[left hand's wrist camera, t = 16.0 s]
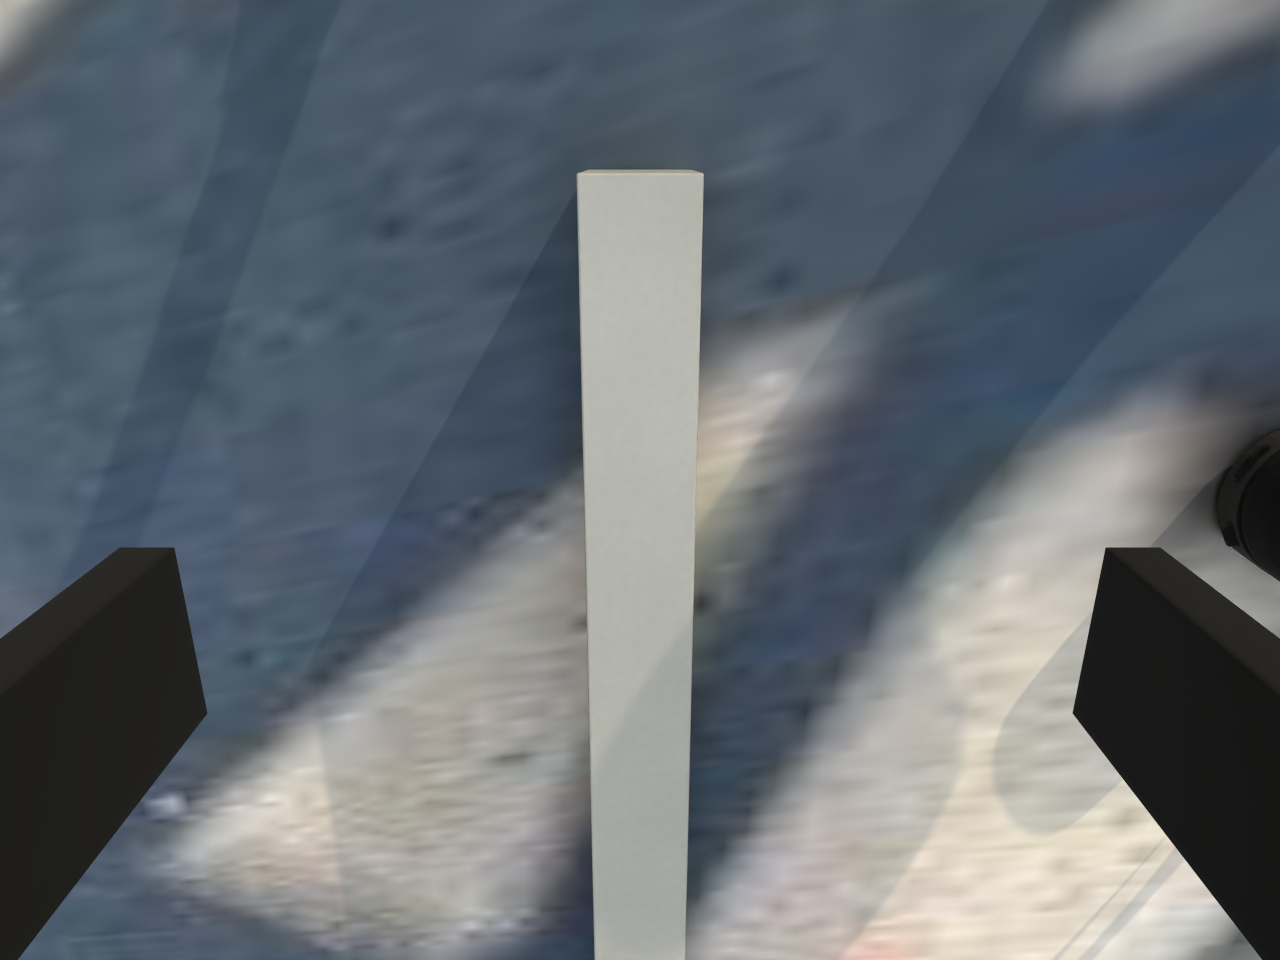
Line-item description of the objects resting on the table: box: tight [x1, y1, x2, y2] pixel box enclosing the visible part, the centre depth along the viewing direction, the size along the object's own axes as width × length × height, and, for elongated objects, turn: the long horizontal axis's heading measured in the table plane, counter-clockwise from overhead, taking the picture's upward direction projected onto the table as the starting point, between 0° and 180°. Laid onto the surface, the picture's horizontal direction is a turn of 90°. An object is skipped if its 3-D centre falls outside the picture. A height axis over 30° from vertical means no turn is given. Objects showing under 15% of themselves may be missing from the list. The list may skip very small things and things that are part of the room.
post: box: [577, 170, 704, 960], centre depth 47 cm, size 53×5×7 cm, turn 0°
